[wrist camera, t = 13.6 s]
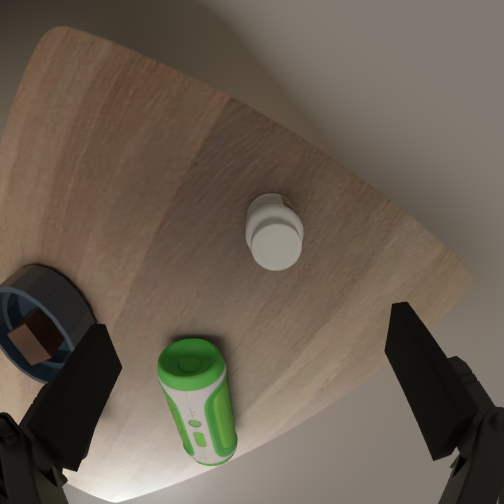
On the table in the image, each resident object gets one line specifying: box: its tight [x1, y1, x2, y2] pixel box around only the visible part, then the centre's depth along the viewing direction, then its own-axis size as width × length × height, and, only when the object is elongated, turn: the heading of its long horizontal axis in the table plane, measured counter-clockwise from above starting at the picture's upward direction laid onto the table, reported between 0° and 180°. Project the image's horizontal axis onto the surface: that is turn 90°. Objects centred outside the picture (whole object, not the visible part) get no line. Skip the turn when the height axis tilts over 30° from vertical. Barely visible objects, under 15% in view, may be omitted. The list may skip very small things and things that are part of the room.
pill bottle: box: [245, 193, 303, 271], centre depth 25 cm, size 4×4×8 cm
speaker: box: [158, 338, 237, 466], centre depth 33 cm, size 18×7×8 cm, turn 3°
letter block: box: [7, 307, 65, 366], centre depth 31 cm, size 5×5×5 cm
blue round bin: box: [0, 265, 95, 384], centre depth 30 cm, size 14×14×6 cm
